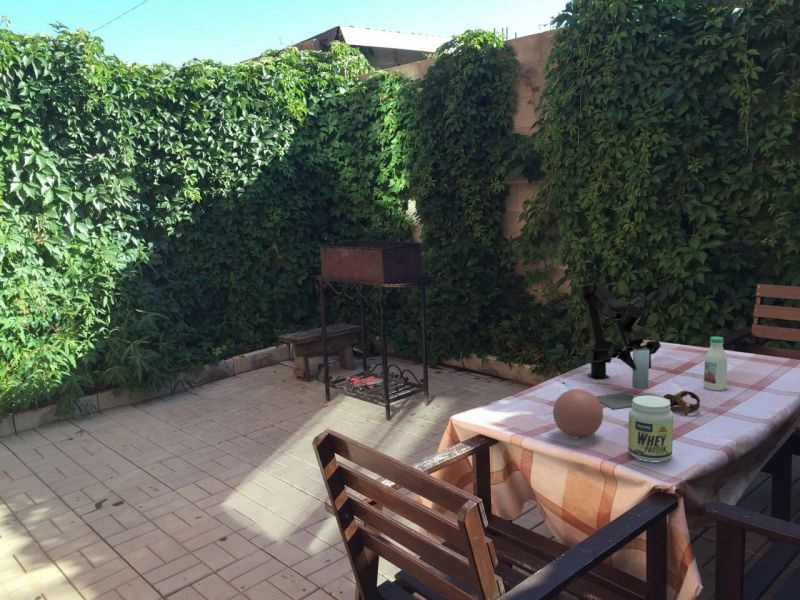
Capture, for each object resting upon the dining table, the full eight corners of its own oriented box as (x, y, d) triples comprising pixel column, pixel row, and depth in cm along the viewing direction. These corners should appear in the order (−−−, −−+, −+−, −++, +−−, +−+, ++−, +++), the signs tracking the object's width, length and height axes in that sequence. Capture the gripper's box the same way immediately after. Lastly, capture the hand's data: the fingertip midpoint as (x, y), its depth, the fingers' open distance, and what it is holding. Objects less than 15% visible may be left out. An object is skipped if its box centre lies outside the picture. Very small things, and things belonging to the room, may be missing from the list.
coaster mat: (591, 397, 242) (591, 396, 242) (624, 393, 245) (624, 392, 245) (612, 409, 228) (612, 408, 228) (646, 404, 232) (646, 403, 232)
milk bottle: (721, 384, 250) (723, 335, 247) (729, 391, 243) (731, 339, 239) (700, 385, 251) (702, 335, 248) (708, 391, 244) (710, 340, 240)
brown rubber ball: (615, 428, 211) (615, 383, 208) (591, 449, 195) (592, 401, 193) (570, 420, 220) (570, 377, 218) (545, 439, 205) (544, 393, 202)
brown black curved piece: (691, 407, 229) (701, 391, 224) (694, 426, 222) (704, 411, 217) (657, 398, 231) (666, 382, 226) (659, 417, 223) (668, 401, 218)
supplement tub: (631, 463, 185) (632, 407, 182) (625, 446, 196) (626, 393, 194) (676, 465, 182) (678, 408, 179) (667, 448, 194) (669, 394, 191)
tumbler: (631, 384, 239) (632, 347, 237) (647, 384, 238) (648, 348, 235) (633, 388, 234) (633, 351, 232) (649, 389, 233) (650, 351, 230)
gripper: (612, 323, 234) (627, 360, 225) (658, 319, 237) (675, 355, 229) (601, 339, 243) (615, 375, 234) (646, 335, 246) (662, 370, 238)
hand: (642, 369), depth 233 cm, fingers closed on tumbler, 6 cm apart
